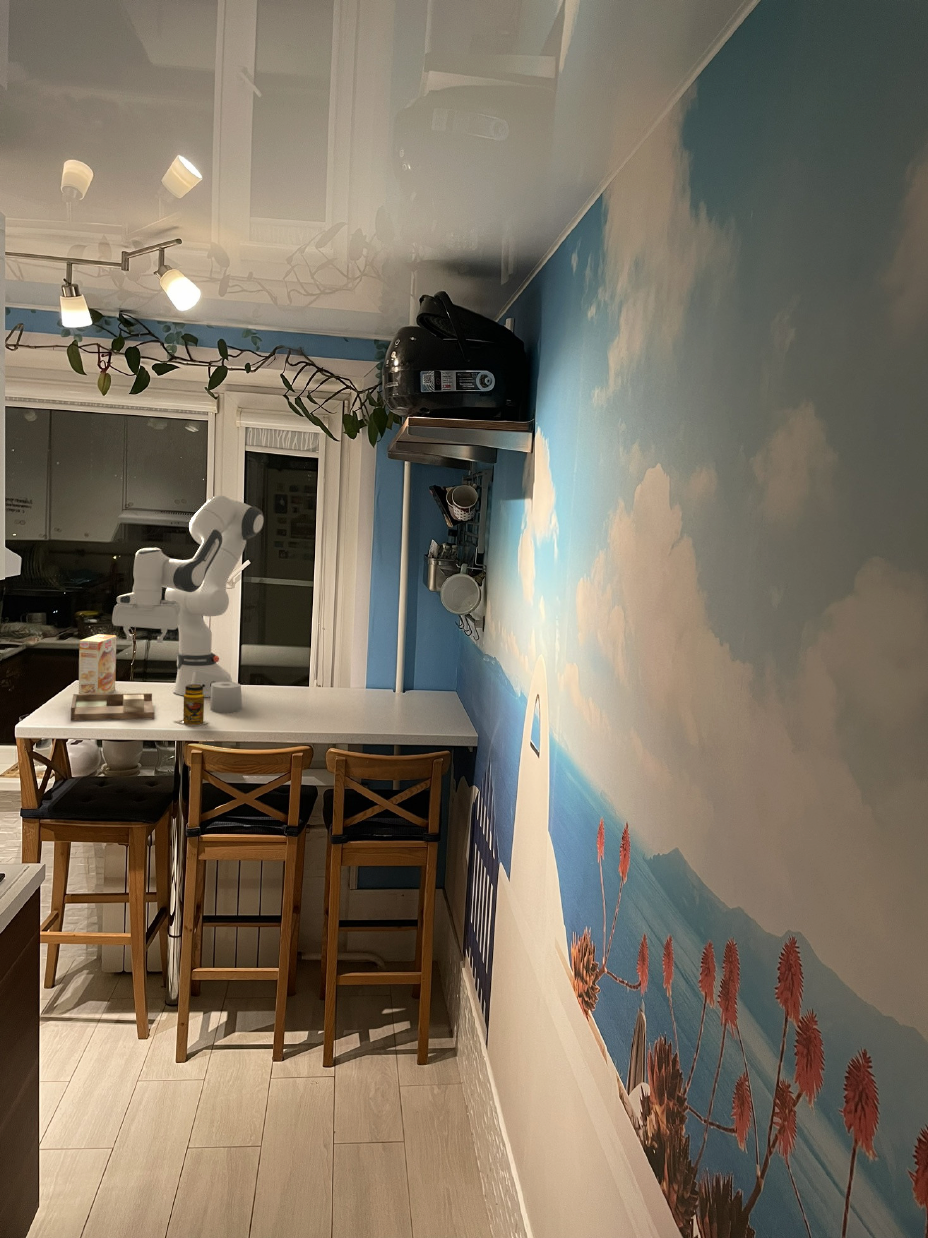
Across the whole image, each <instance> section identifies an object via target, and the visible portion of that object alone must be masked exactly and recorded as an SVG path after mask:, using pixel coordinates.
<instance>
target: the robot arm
mask: <svg viewBox="0 0 928 1238" xmlns="http://www.w3.org/2000/svg"><path fill="white" fill-rule="evenodd" d="M264 522H265V516H264V513H263V511H262V510H260V509H259V508H258V507H256V506H251V505H249V504H247V503H244V502H241V501H238V500H234V499H230V498H229V497H227V496H225V495H220V494H219V495H216V496H212V497H210V498H208V499H207V500H206V502H205V503H204V504H203V505H202V506H201V507H200V508H199V509H198V510H197V511H196V512H195V514H194V515H193V516H192V517H191V519H190V521H189V524H188V528H189V533H190V535H191V537H192V538H193V540H194V541H195V542H196V543H197V544H198V545H200V546H199V548H198V549H197V551H196V553H195V554H194V556H193V557H192V558H189V559H183V560H182V559H176V558H171V557H169V556H167V555H166V554H164V553H163V551H162V549H160V548H158V547H144V548H141V549H139V550H137V552H136V553H135V557H134V561H133V562H134V563H133V579H134V581H133V586H132V592H128V593H125V594H122V595H119V596H117V597H116V602H117V603H116V605H114V607H113V611H112V616H111V623H112V624H113V626H117V627H122V628H123V632H124V633H125V635H126V641H133V639H134V638H133V637H134V635H133V634H131V633H130V631H129V630H130V628H131V627H132V628H144V629H145V628H146V629H159V630H160V632H161V635H160V636H157V638H156V642H157V643H159V644H160V643H161V644H163V643H164V637H165V636H166V633H168V630H170V631H172V630H173V631H174V630H175V631H176V630H177V629H178V652H177V657H176V667H177V674H176V679H175V683H174V687H173V690H172V692H173V693H174V694H176V695H180V696H184V694H185V689H186V688H185V687H186V686H187V685H190V684H198V685H202V686H203V694H204V698H209V697H210V698H211V684H213V683H216V682H233V678H232V676H231V674H230V673H229V672H228V671H226V669H224V668H223V667H222V666H221V665H220V664H218V662H219V661H220V658H219V656H218V655H217V654H215V653H213V652H212V644H213V643H212V640H213V639H212V638H213V637H212V636H213V633H212V630H211V629H210V627H209V626H208V625H207V624H206V622H205V620H204V617H208V618H209V617H217V616H222V615H224V614H225V613H226V611H227V609H228V607H229V605H230V604H229V603H230V598H229V595H228V593H227V584H228V581H229V578H230V577H231V575H232V572H233V571H234V569H235V568H236V567H237V566H236V565H237V564H238V563H239V561H240V559H241V557H242V555H243V552H244V550H245V548H246V545H247V541H249V540H251V539H252V538H253V537H255V536H256V535H257V534H259V533H260V531H261V530H262V529H263V527H264ZM163 588H165V591H164V592H165V593H164V599H162V594H163Z"/></svg>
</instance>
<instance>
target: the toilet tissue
mask: <svg viewBox="0 0 928 1238" xmlns="http://www.w3.org/2000/svg"><path fill="white" fill-rule="evenodd" d="M242 697H243V696H242V686H241V684H240V683H238V682H235V681H234V682H233V681H232V682H216V683H213V684H211V697H210V705H209V706H210V711H211V712H212V713H218V714H235V713H238V712H239V711H241V710H242V709H243V698H242Z"/></svg>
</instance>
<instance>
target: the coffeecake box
mask: <svg viewBox="0 0 928 1238" xmlns="http://www.w3.org/2000/svg"><path fill="white" fill-rule="evenodd" d="M78 642H79V646H78V648H79V651H78V653H79V656H78V657H79V658H78V694H111V693H112V692H113V691H116V671H117V670H116V668H117V667H116V664H117V635H113V634H101V633H100V634H99V633H98V634H95V635H93V636H90V637H89V636H88V637H86V638H84V639H81V640H79V641H78Z"/></svg>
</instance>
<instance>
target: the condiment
mask: <svg viewBox="0 0 928 1238" xmlns="http://www.w3.org/2000/svg"><path fill="white" fill-rule="evenodd" d="M185 688H186V689H185V694H184V695H183V710H182V711H183V715H182V717H183V719H178V720H174V721H173V723H174V722H175V723H177V724H181V725H183V726H187V727H190V728H191V727H198V726H202V725H205V724H210V721H205V720H204V719H205V718H204V712H205V711H204V710H205V708H204V707H205V697H204V694H203V686H202V685H198V684H190V685H187V686H186V687H185ZM182 721H184V723H180V722H182ZM184 724H185V725H184Z"/></svg>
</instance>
